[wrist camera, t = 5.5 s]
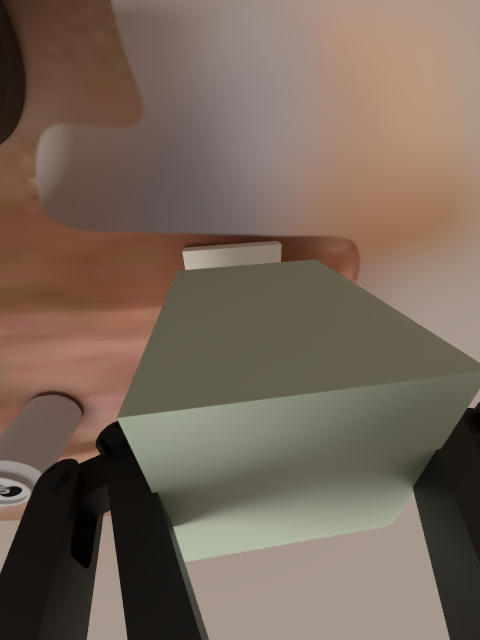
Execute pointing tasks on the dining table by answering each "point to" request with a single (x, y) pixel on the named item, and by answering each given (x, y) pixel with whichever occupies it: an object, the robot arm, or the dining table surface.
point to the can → (34, 444)
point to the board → (232, 255)
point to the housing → (287, 406)
